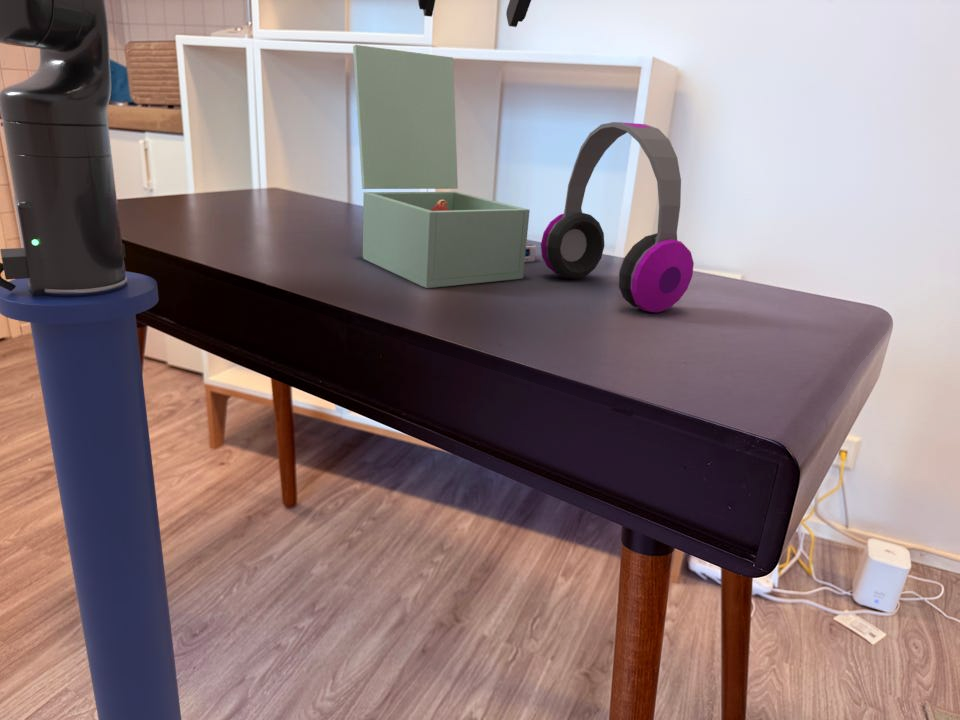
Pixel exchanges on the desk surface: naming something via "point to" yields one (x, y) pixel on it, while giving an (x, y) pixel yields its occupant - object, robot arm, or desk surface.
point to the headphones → (650, 262)
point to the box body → (444, 237)
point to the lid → (405, 119)
